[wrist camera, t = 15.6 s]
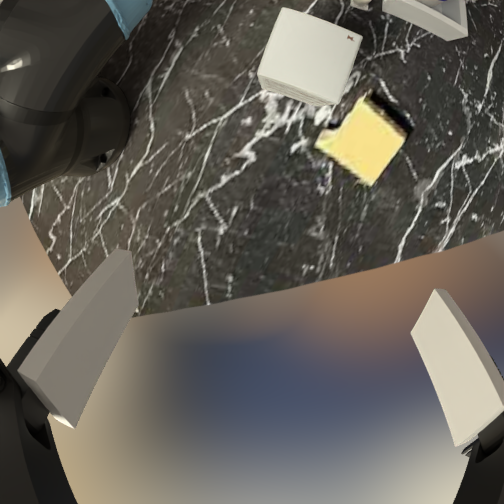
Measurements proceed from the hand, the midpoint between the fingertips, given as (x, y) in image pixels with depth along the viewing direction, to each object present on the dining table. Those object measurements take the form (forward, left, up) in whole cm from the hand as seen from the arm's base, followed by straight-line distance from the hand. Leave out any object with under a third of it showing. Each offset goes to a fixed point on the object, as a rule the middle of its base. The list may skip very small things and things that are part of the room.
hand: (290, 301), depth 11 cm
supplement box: (+1, +13, -27) cm, 30 cm away
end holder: (+17, +31, -27) cm, 44 cm away
